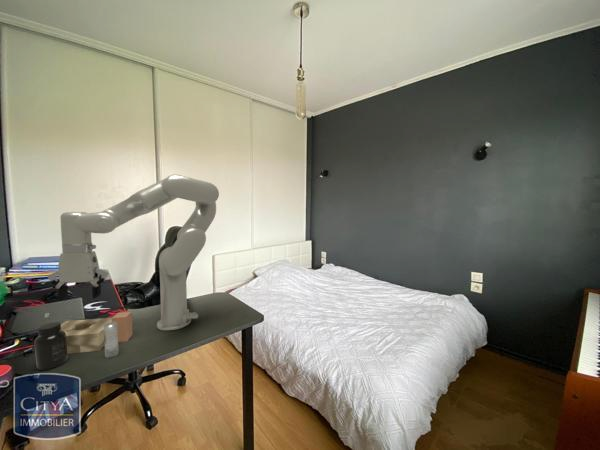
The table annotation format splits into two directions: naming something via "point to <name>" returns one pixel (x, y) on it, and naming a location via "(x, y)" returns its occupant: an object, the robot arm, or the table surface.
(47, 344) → the supplement bottle
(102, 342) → the socket block
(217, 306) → the table surface
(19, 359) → the table surface
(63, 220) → the robot arm
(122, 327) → the square rust bit
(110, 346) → the round metal bit
